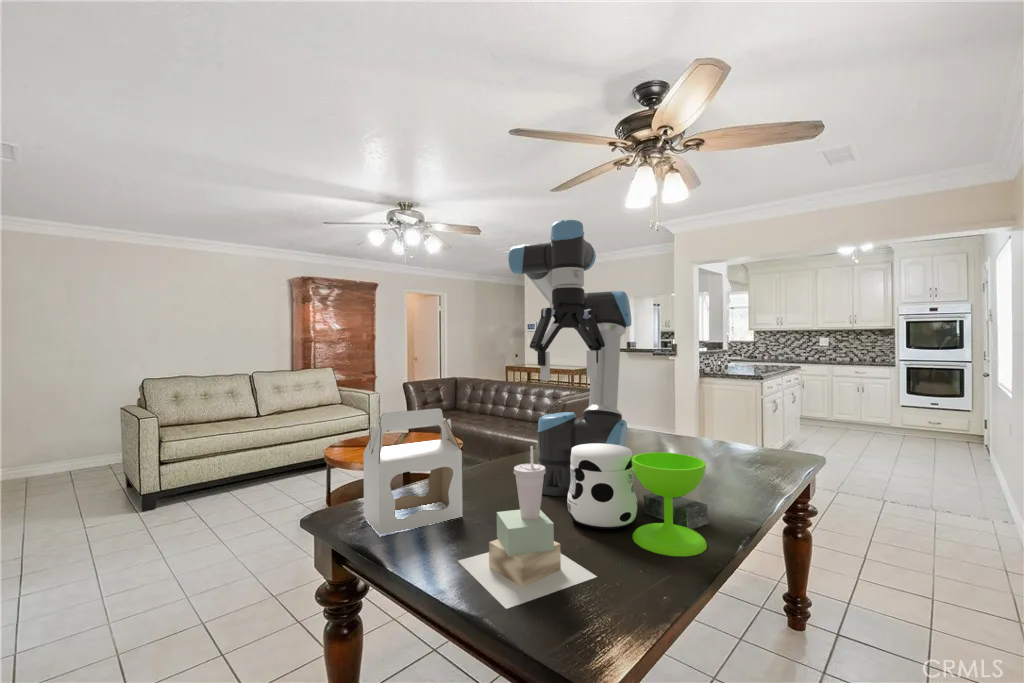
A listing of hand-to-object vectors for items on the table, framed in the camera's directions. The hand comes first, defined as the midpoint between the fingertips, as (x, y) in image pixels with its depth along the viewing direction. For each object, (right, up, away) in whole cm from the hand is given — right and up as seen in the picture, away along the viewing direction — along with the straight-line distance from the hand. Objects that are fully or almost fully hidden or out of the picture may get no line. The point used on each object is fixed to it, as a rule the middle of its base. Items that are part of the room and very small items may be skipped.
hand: (569, 379), depth 106 cm
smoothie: (-10, -26, -15) cm, 32 cm away
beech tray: (-11, -36, -16) cm, 41 cm away
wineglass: (+22, -37, -3) cm, 43 cm away
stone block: (+29, -37, +10) cm, 48 cm away
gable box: (-39, -37, +11) cm, 55 cm away
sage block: (-11, -31, -16) cm, 37 cm away
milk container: (+9, -37, +8) cm, 39 cm away
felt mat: (-11, -36, -16) cm, 41 cm away
